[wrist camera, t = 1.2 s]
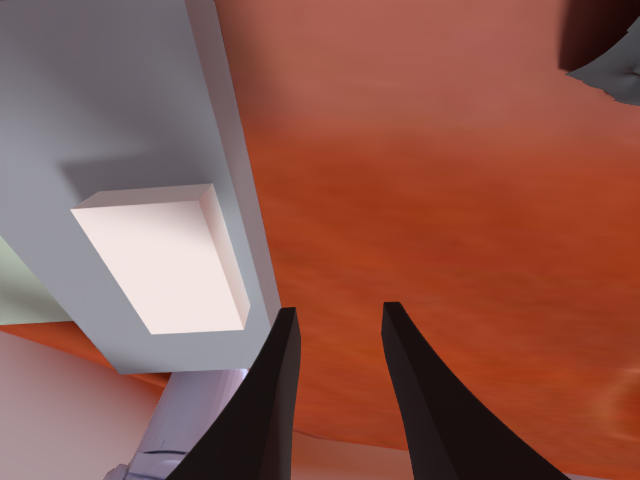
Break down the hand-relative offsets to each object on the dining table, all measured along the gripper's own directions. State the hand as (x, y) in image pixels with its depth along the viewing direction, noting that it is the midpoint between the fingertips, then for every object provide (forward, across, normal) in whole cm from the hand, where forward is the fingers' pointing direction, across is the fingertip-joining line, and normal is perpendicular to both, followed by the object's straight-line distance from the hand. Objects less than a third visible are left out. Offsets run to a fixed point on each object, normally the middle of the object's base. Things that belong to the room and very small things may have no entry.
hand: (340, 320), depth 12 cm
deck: (+9, +12, 0) cm, 15 cm away
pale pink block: (+5, +9, 0) cm, 10 cm away
